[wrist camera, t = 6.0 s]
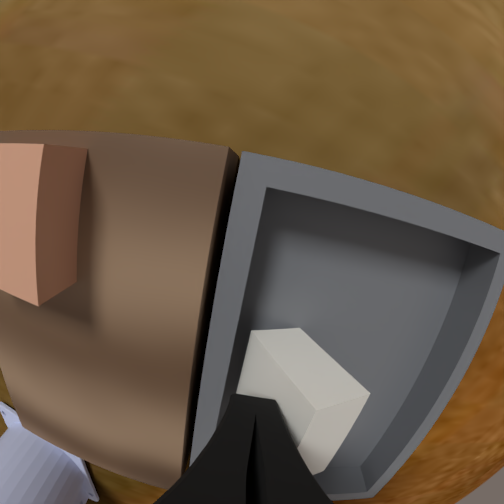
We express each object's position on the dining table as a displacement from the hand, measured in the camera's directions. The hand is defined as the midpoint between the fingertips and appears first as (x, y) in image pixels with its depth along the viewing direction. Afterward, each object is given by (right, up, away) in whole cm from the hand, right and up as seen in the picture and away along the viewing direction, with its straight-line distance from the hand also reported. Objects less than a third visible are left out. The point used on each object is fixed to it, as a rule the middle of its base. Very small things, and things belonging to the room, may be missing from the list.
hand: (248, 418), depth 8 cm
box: (+3, 0, +4) cm, 5 cm away
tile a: (0, 0, 0) cm, 1 cm away
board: (-6, +2, +3) cm, 8 cm away
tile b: (-7, +7, -1) cm, 9 cm away
